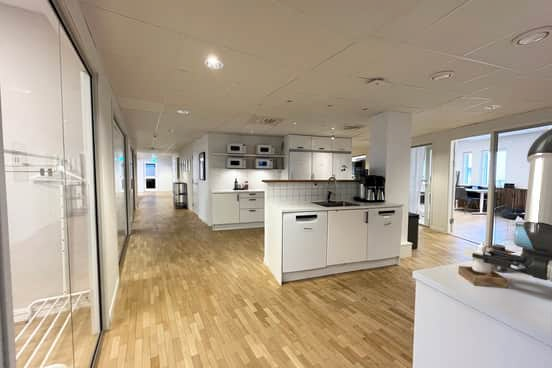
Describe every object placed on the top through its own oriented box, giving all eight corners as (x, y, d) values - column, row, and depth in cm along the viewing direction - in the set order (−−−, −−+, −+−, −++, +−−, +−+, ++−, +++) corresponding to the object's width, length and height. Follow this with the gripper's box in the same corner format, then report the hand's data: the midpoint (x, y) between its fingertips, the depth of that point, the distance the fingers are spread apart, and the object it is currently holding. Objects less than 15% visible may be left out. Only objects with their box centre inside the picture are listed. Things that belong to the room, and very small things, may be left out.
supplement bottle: (485, 266, 109) (486, 243, 108) (500, 267, 108) (501, 243, 107) (494, 272, 103) (496, 247, 102) (510, 273, 102) (512, 248, 101)
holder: (487, 275, 100) (487, 267, 99) (507, 288, 89) (507, 279, 89) (458, 273, 102) (458, 265, 102) (474, 285, 91) (474, 276, 91)
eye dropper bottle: (489, 275, 91) (490, 245, 91) (471, 270, 96) (472, 241, 95) (491, 272, 94) (492, 243, 94) (473, 267, 98) (474, 240, 98)
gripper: (543, 287, 75) (457, 264, 94) (553, 274, 85) (473, 255, 104) (545, 264, 75) (457, 245, 94) (554, 254, 84) (473, 239, 104)
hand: (466, 251), depth 99 cm, fingers closed on eye dropper bottle, 4 cm apart
